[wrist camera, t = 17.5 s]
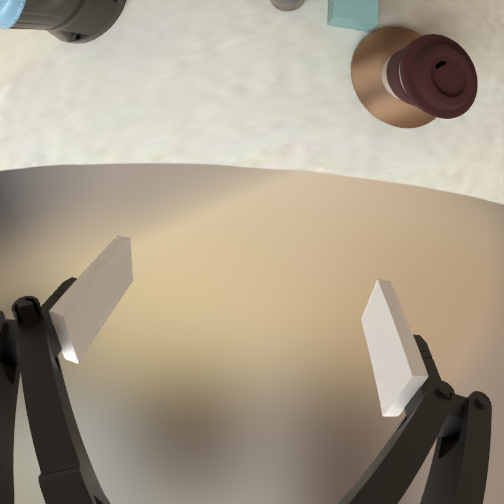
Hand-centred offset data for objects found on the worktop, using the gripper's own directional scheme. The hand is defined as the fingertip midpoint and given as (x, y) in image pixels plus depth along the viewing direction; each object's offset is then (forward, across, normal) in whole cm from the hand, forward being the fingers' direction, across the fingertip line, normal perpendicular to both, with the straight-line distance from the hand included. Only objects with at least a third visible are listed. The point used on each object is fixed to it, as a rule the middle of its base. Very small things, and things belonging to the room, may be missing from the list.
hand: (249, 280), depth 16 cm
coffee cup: (+34, +17, +16) cm, 41 cm away
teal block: (+35, +8, +24) cm, 43 cm away
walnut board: (+35, +17, +16) cm, 42 cm away
